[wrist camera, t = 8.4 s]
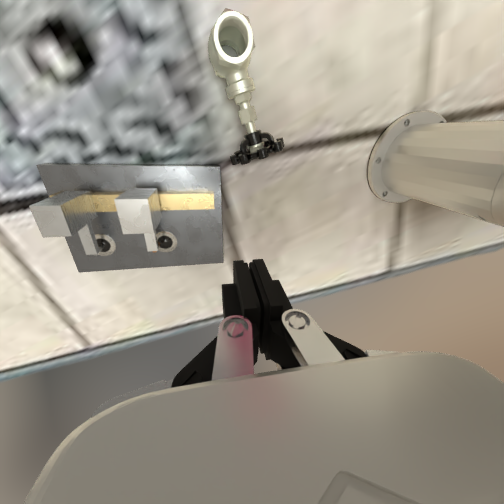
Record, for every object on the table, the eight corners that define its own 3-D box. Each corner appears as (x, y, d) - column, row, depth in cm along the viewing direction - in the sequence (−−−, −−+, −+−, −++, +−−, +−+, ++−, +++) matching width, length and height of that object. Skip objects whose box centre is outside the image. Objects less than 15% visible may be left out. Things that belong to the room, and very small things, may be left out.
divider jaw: (159, 185, 27) (147, 198, 22) (168, 245, 31) (161, 269, 25) (132, 185, 27) (114, 199, 21) (145, 247, 30) (133, 271, 25)
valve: (190, 46, 23) (229, 162, 29) (185, 18, 18) (236, 168, 24) (249, 25, 23) (276, 144, 29) (263, -10, 18) (293, 147, 24)
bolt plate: (219, 165, 29) (224, 176, 21) (222, 257, 36) (227, 292, 28) (44, 163, 26) (-26, 176, 18) (83, 266, 32) (45, 309, 24)
